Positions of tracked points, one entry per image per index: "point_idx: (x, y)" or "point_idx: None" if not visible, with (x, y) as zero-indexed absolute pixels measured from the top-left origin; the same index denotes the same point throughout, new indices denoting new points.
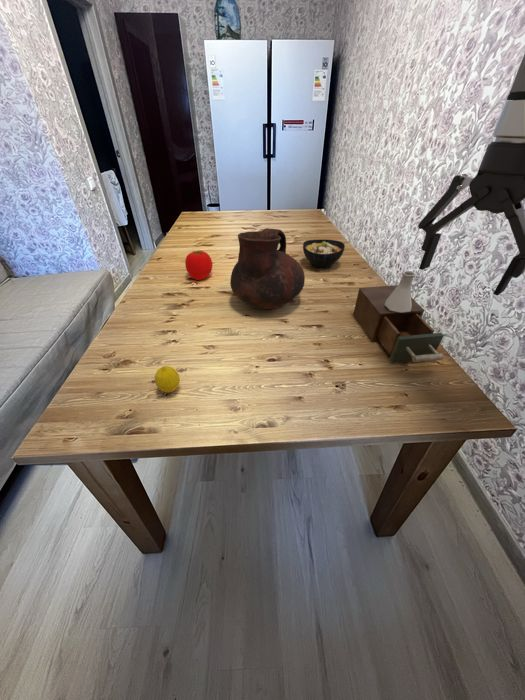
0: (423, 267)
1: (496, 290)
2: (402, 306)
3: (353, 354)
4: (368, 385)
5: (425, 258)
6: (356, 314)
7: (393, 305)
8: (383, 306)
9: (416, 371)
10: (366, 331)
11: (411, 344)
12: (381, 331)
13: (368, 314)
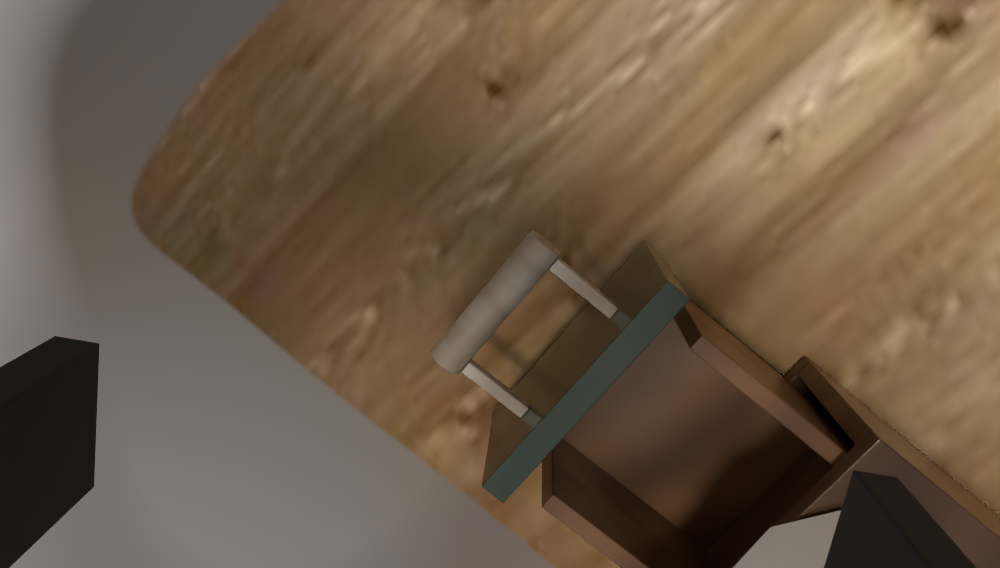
0: (862, 491)
1: (61, 355)
2: (787, 560)
3: (842, 187)
4: (667, 16)
5: (926, 550)
6: (996, 516)
7: None
8: None
9: None
10: (870, 411)
11: (602, 334)
12: (796, 396)
13: (938, 476)
